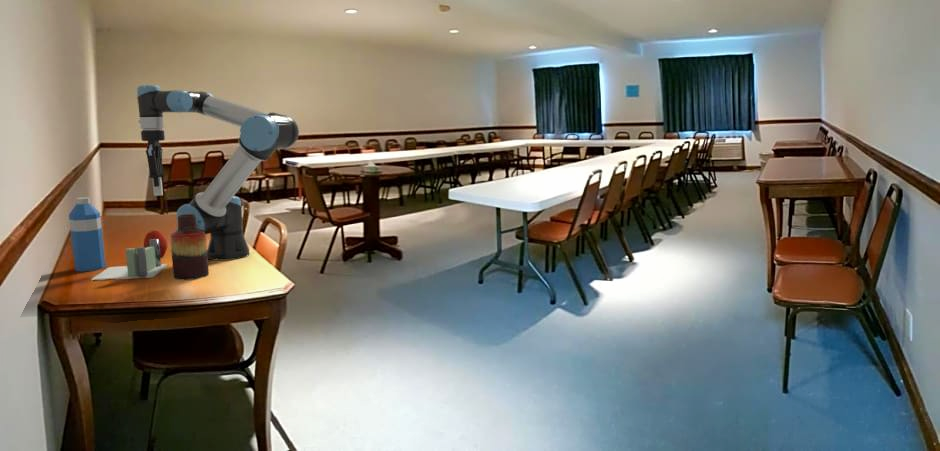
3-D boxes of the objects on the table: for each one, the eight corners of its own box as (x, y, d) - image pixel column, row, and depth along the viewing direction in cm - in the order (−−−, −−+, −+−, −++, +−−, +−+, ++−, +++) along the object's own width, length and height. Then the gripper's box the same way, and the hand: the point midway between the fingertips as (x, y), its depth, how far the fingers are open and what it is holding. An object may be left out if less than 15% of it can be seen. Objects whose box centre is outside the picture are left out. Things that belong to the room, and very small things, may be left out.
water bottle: (91, 271, 225) (84, 199, 221) (68, 270, 227) (60, 199, 223) (111, 265, 234) (104, 196, 230) (89, 265, 236) (81, 196, 232)
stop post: (147, 276, 217) (144, 246, 216) (145, 277, 216) (143, 247, 214) (141, 276, 217) (138, 247, 215) (139, 278, 215) (136, 248, 213)
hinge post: (162, 266, 232) (159, 238, 231) (160, 268, 229) (157, 240, 228) (153, 266, 232) (150, 239, 230) (150, 268, 229) (148, 240, 227)
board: (167, 265, 233) (167, 263, 233) (154, 277, 216) (153, 275, 216) (109, 268, 230) (109, 267, 230) (91, 280, 212) (91, 279, 212)
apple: (140, 257, 248) (137, 229, 247) (162, 253, 255) (159, 226, 253) (150, 260, 243) (147, 231, 241) (172, 256, 249) (169, 228, 248)
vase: (215, 273, 221) (211, 213, 217) (192, 280, 211) (187, 218, 207) (190, 271, 224) (185, 212, 221) (166, 278, 214) (160, 217, 211)
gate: (149, 266, 228) (147, 241, 226) (156, 266, 228) (154, 240, 226) (128, 276, 213) (125, 249, 212) (135, 276, 213) (132, 249, 212)
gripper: (146, 129, 239) (152, 193, 243) (135, 130, 226) (142, 197, 230) (168, 129, 240) (173, 193, 244) (158, 129, 228) (165, 197, 232)
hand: (158, 195), depth 237 cm, fingers closed
